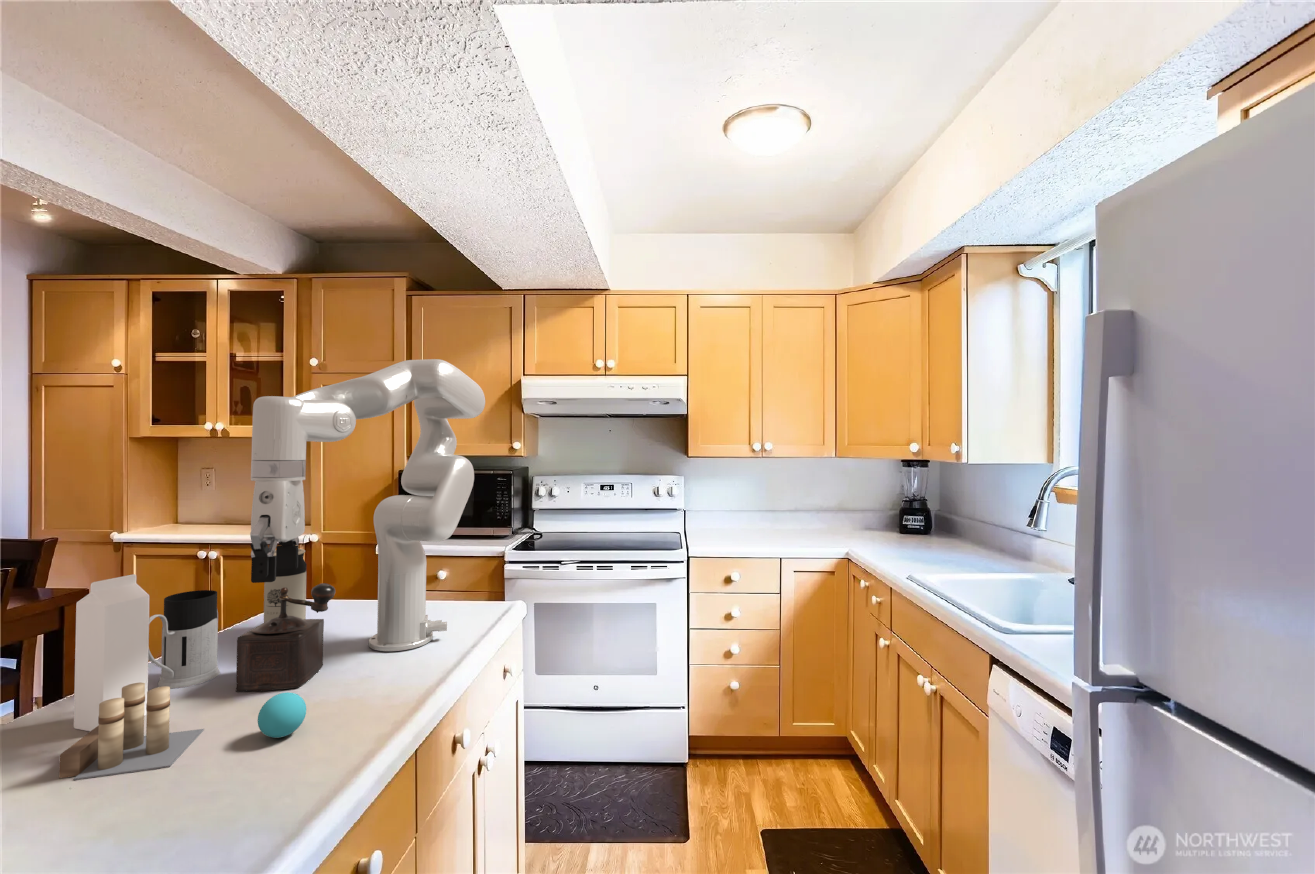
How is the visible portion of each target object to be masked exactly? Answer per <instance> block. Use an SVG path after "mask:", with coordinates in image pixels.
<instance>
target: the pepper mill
mask: <svg viewBox="0 0 1315 874" xmlns="http://www.w3.org/2000/svg"><path fill="white" fill-rule="evenodd" d="M280 593H281V595H280V596H279V600H281V611H280V615H279V617H276V618H273V619H271V620H268V621H266V622H264V621H263V622H262V623H260V624H259V625H257V626H255V627H253V628H252V629H250V630H248V631H246V632H245V633H243V634H240V635H239V636H238V637H237V639H236V677H235V678H236V679H235V680H236V683H235V684H236V685H235V687H236V688H235V692H236V693H239V692H241V693H242V692H243V693H246V692H247V693H248V692H268V691H269V692H270V691H276V690H277V691H278V690H289V689H296V688H297V689H298V688H300V687H301V686H303V685H305V684H306V682H307V681H308V680H309V681H310V680H311V679H312V678H313V677H314V675H315V674H316V673H317V674H318V673H319V672H320V671H321V670H322V668H323V666H324V633H325V632H324V631H325V630H324V629H325V628H324V627H325V626H324V625H325V621H324V618H308V619H307V618H306V619H301V618H299V617H295V616H288V615H287V613H286V603H287V601H288V602H290V603H293V604H299V605H306V607H307V606H308V607H310V610H312V611H314V612H316V613H317V614H318V613H321V612H322V613H323V612H326V611H328V609H329V606H328V603H329V602H330V601H331V600H332V599H333V598H334V596H335V594H336V587H334V586H333V585H331V584H330V583H325V582H324V583H319V584H316V585H315V586H313V587H312V589H311V591H310V593H311V597H312V598H313V601H311V600H307V599H306V600H299V599H294V598H290V597H288V594H287V593H288V589H287V588H286V587H283V588H281V590H280ZM319 670H320V671H319ZM317 674H316V675H317ZM316 675H315V676H316ZM309 681H308V682H309ZM308 682H307V683H308Z"/></svg>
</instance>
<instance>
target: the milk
mask: <svg viewBox="0 0 1315 874" xmlns="http://www.w3.org/2000/svg"><path fill="white" fill-rule="evenodd" d="M75 611H76V612H75V649H74V650H75V652H74V653H75V654H74V659H75V660H74V692H73V694H74V695H73V696H74V698H73V699H74V700H73V706H74V707H73V729H75V730H82V731H86V732H90V731H92V730H93V729H94V728H96V727H97V726H98V725H99V724H98V717H99V704H100V703H101V702H103V701H106V700H109V699H113V698H122V688H123V687H124V686H126V685H129V684H133V683H145V703H144V717H147V711H146V704H147V692H148V691H149V690H148V687H149V660H148V648H149V649H150V647H149V645H150V643H149V642H150V641H149V639H150V634H149V633H150V624H149V618H150V594H149V593H147V592H146V590H145V589H143V588H142V587H141V585H139V584H138V583H137V574H136V573H135V574H134V573H133V574H130V575H129V574H128V575H123V576H118V577H113V578H107V579H101V580H98V581H93V582H91V583H90V591H89V593H88V594H86V595H85V596H84V597H83V598H81V599H80V600H78V601H76V608H75Z"/></svg>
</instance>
